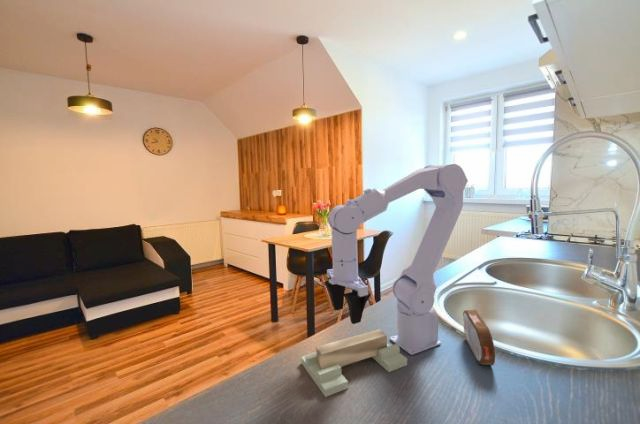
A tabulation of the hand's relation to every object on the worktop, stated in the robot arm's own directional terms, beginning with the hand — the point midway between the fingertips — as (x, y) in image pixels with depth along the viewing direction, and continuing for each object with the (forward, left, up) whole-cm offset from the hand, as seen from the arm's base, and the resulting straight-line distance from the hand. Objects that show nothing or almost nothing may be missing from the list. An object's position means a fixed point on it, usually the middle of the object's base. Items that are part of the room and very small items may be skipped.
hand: (346, 315), depth 70 cm
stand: (+1, +4, -9) cm, 10 cm away
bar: (+1, +4, -8) cm, 9 cm away
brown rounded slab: (-26, +14, -10) cm, 31 cm away
